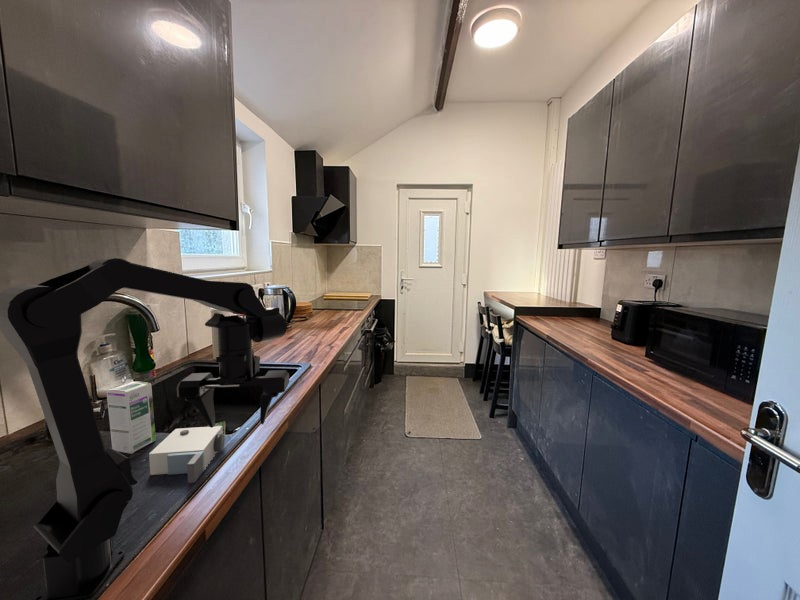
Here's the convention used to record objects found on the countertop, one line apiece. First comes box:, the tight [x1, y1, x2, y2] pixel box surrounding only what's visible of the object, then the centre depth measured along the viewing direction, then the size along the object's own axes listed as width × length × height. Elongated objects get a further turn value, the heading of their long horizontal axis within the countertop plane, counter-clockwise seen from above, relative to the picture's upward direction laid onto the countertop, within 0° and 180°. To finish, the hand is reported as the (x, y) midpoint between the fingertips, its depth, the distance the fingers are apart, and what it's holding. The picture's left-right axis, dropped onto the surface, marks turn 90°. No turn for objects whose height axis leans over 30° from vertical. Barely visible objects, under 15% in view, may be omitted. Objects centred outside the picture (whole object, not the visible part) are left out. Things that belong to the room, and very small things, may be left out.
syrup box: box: [106, 381, 157, 455], centre depth 73 cm, size 6×6×14 cm
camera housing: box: [148, 425, 226, 476], centre depth 69 cm, size 10×11×5 cm
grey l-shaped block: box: [167, 451, 206, 484], centre depth 62 cm, size 4×6×4 cm, turn 99°
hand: (238, 424), depth 62 cm, fingers open, 9 cm apart
